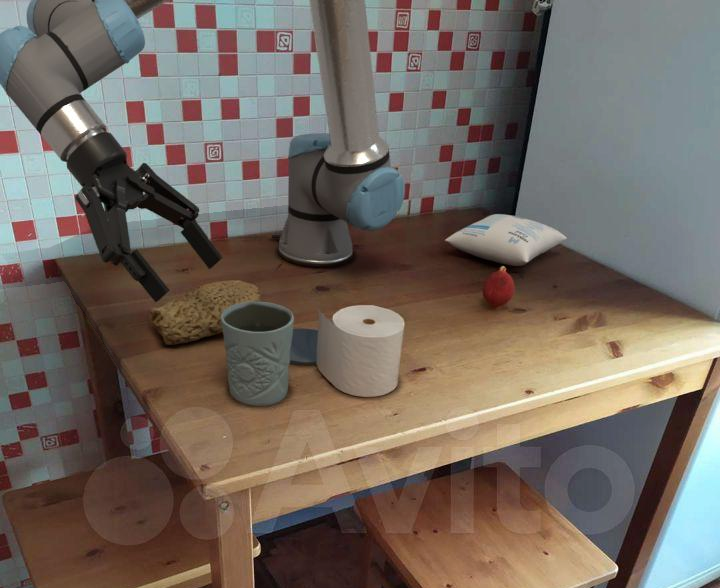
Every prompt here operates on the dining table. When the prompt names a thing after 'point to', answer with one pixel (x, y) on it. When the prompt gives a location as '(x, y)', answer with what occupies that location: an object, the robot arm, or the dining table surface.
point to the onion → (498, 288)
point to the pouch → (506, 239)
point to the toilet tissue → (361, 349)
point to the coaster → (304, 347)
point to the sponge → (200, 310)
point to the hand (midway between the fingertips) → (190, 279)
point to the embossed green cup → (258, 351)
